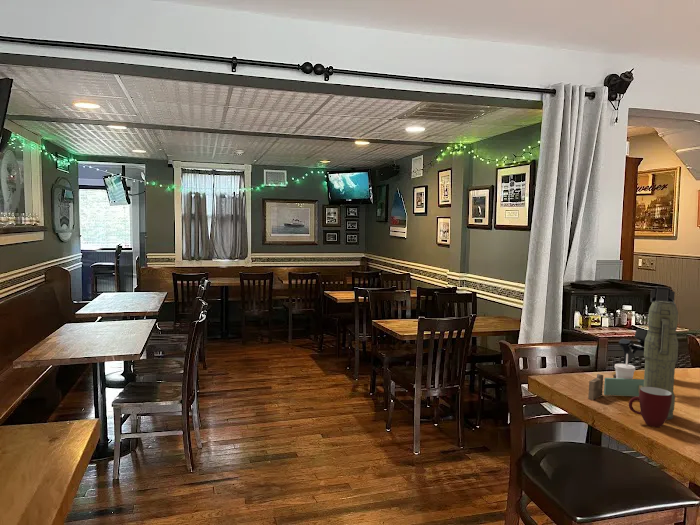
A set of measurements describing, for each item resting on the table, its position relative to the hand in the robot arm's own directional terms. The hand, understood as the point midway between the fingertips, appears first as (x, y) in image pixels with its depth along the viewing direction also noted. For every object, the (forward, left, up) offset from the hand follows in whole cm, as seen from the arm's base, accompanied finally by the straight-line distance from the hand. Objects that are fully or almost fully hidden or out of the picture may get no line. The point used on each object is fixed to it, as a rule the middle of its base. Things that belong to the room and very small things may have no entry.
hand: (636, 369), depth 178 cm
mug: (+32, +14, -8) cm, 36 cm away
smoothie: (+7, -2, -8) cm, 11 cm away
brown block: (+11, -6, -8) cm, 15 cm away
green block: (+11, 0, -7) cm, 13 cm away
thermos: (+21, +13, -8) cm, 26 cm away
